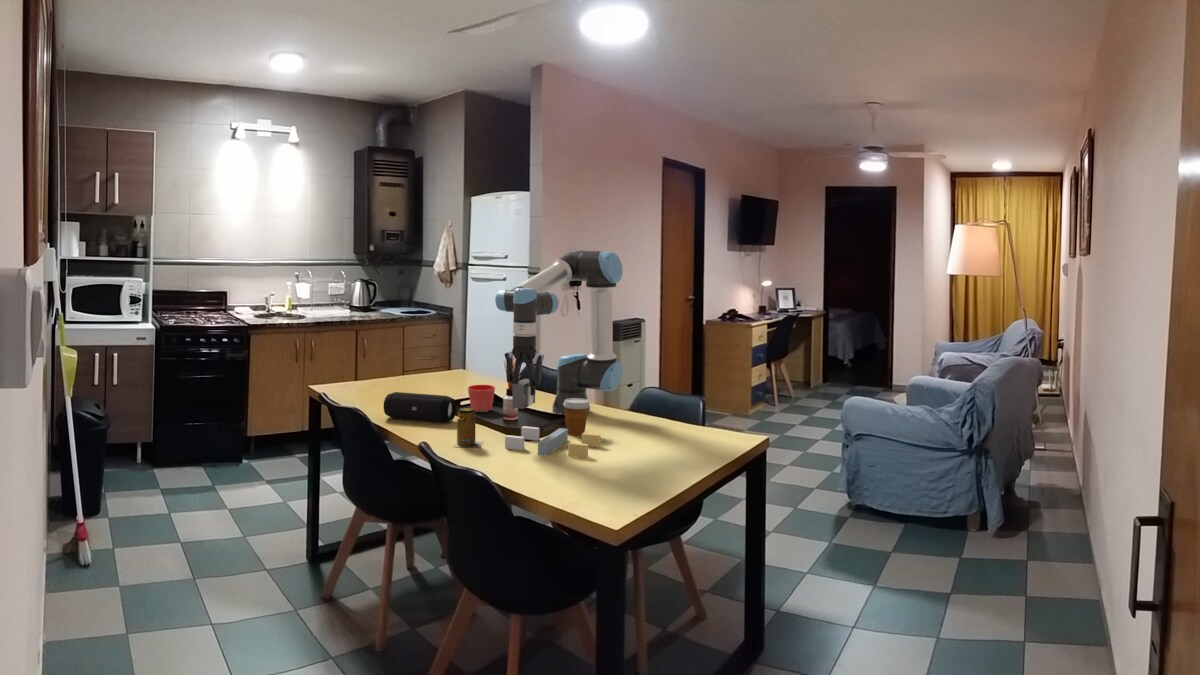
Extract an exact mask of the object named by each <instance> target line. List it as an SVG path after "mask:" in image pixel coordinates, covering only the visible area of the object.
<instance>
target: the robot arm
mask: <svg viewBox="0 0 1200 675" xmlns="http://www.w3.org/2000/svg"><path fill="white" fill-rule="evenodd" d="M622 277H623V264H622V261H621V259H620V257H619V255H618V254H616V253H615V252H613V251H607V250H576V251H571V252H569V253H567V254H565V255H563V256H561V257H559V258H557V259H555V260H554V261H553V262H552V263H551V264H550V266H549V267H547V268H546V269H544V270H543V271H540V272H539V273H537V274H536V275H533V276H532V277H530V278H528V279H527V280H525V281H524V282H522V283H520V284H519V285H517V286H515V287H513V288H512V289H501V290H499V291H498V292H497V293H496V295H495V299H494V301H495V306H496V308H497V309H498V310H499V311H501V312H507V313H513V320H512V321H513V323H512V326H513V327H512V328H513V330H512V334H514V335H513V336H512V346H513V348H512V350H511V351H508V352H505V353H504V358H505V362H506V383H510V384H512V385H511V388H512V389H511V390H512V391H511V393H512V394H513V383H516V382H518V381H519V379H520V374H521V370H522V365H523V363H524V364H525V366H526V369H527V374H528V379H529V382H530V385H529V386H528V407H530V406H532V405H534V404H533V395H535V396H536V390H537V389H536V387H537V385H540V384H541V383H542V376H543V374H542V370H543V361H544V358H545V355H544V354H541V353H538V352H537V347H536V346H537V344H536V343H537V337H536V334H537V316H543V315H546V316H547V315H548V316H549V315H551V314H554V313H555V312H556V311H557V310H558V308H559V304H560V302H559V301H560V300H559V298H558V296H557V295H556V294H555V293H554V292H551V290H553V289H556V288H557V287H558V286H559V285H562V284H568V283H569V282H572V281H581V282H585V288H586V289H587V290H588V291H589V299H590V300H589V315H590V316H589V322H590V323H589V324H590V325H589V326H590V328H589V329H590V352H589V353H588V354H586V353H576V354H575V353H574V354H573V353H571V354H565V355H561V356H560V357H559V358H558V360H557V367H556V368H557V385H556V386H557V387H556V388H557V389H556V395H555V398H554V400H553V404H552V409H551V411H552V412H553V413H554V412H555V413H554V414H557V413H561V414H565V408H564V405H563V403H564V400H565V399H569V398H582V399H587V400H588V401H589V398H588V395H587V389H590V390H596V391H601V392H612V391H615V390H616V389H617V388H618V386H619V385H620V383H621V381H622V378H623V370H624V369H623V366H622V364H621V363H620V361H617V360H618V359H617V355H616V353H614V351H613V350H614V348H613V346H614V345H613V336H614V334H613V333H614V332H613V329H614V328H613V326H614V325H613V324H614V323H613V291H614V290H615V288H617V283H619V282H620V281H621V279H622ZM513 357H514V359H515V362H514V361H513ZM534 359H535V362H536V363H535V368H534V361H533V360H534ZM513 362H514V364H513ZM513 366H514V367H513ZM513 368H514V369H513ZM589 413H591V405H590V406H589V407H588V413H587V415H588V414H589ZM561 414H560V415H561Z"/></svg>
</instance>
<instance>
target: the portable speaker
mask: <svg viewBox="0 0 1200 675" xmlns="http://www.w3.org/2000/svg"><path fill="white" fill-rule="evenodd" d="M456 402H457V401H456V399H455V398H452V397H451V396H448V395H441V394H440V395H439V394H425V393H413V392H400V391H395V392H392V393H388V394H387V395H386V396H385V398H384V401H383V413H384V414H385V415H386V416H387V417H389V418H391V419H395V420H403V421H418V422H428V423H429V422H431V423H440V424H441V423H443V424H444V423H448V422H451V421H453V420H454V419H455V417H456V414H457V403H456Z"/></svg>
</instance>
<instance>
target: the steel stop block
mask: <svg viewBox="0 0 1200 675" xmlns="http://www.w3.org/2000/svg"><path fill="white" fill-rule="evenodd" d="M529 385H530V382H529V378H523V379H521V380H518V382H516V383H513V393H512V394H511V395H512V397H511V398H512V401H511V403H512V406H511V407H512V408H513V409H521V410H522V409H526V408H527V407H529V406H528V386H529ZM535 403H536V394H535V395H533V404H532V405H534V404H535Z"/></svg>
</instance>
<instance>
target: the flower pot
mask: <svg viewBox="0 0 1200 675" xmlns="http://www.w3.org/2000/svg"><path fill="white" fill-rule="evenodd" d="M467 391H468V392H467V393H468V398H469V402H470V403H469V404H470V408H472V409H474V410H475V411H489V410H491V411H492V408H493V403H494V397H495V391H496V387H495V385H491V384H473V385H470V386H468V387H467Z"/></svg>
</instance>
